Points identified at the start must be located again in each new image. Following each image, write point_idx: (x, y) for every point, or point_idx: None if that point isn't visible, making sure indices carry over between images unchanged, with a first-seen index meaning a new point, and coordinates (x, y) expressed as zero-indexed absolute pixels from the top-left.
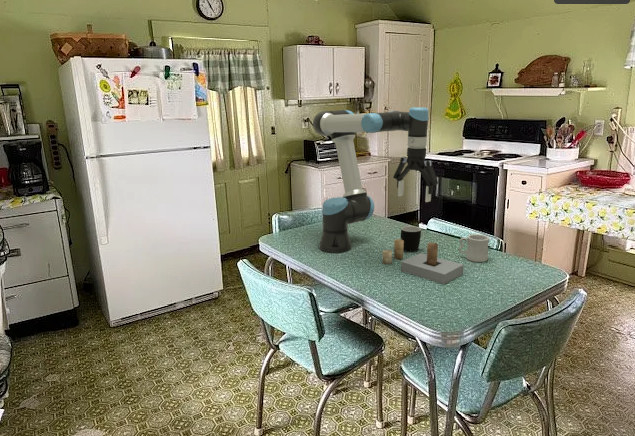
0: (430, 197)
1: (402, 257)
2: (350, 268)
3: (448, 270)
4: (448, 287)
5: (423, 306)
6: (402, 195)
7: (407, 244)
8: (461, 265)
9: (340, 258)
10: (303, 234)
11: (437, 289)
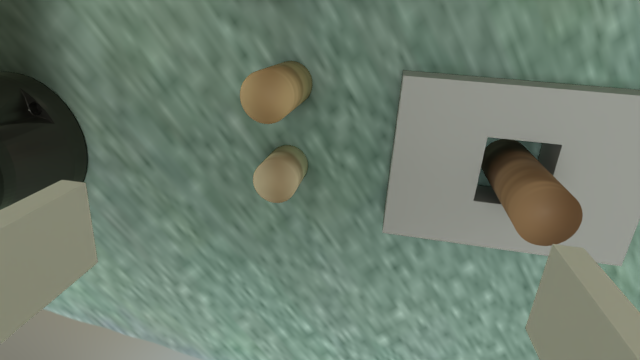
0: (610, 295)
1: (310, 84)
2: (226, 285)
3: (625, 216)
4: (626, 259)
5: None
6: (86, 199)
7: None
8: None
9: (131, 226)
10: None
11: None
